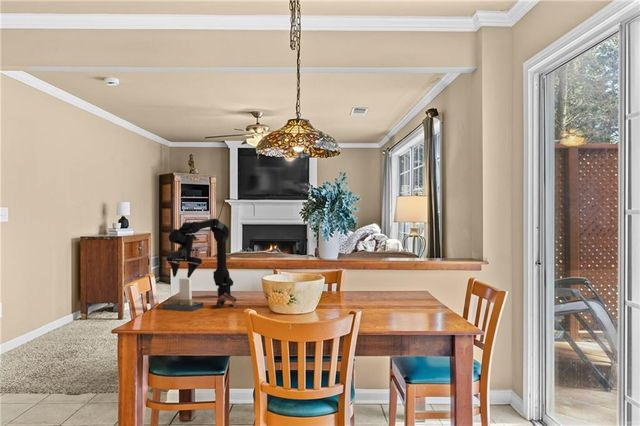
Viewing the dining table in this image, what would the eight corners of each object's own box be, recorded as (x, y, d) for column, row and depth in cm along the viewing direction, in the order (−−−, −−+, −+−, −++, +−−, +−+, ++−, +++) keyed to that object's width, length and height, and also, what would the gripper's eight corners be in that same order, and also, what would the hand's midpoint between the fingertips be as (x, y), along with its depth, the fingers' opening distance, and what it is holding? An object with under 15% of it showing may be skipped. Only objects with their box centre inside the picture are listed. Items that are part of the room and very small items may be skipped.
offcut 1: (172, 307, 231) (171, 297, 231) (181, 308, 229) (181, 298, 229) (169, 308, 229) (169, 298, 229) (178, 309, 227) (178, 298, 227)
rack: (175, 306, 238) (175, 299, 238) (204, 308, 231) (204, 302, 231) (161, 310, 228) (161, 303, 228) (191, 313, 222) (191, 306, 222)
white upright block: (181, 306, 234) (181, 278, 233) (191, 307, 231) (191, 279, 231) (179, 307, 232) (179, 279, 232) (189, 308, 230) (189, 279, 230)
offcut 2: (182, 308, 229) (182, 298, 229) (192, 309, 227) (192, 298, 227) (179, 309, 227) (179, 299, 227) (189, 310, 225) (189, 299, 225)
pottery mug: (218, 306, 239) (226, 292, 240) (233, 315, 236) (241, 301, 237) (208, 305, 227) (216, 290, 228) (223, 314, 224) (232, 299, 225)
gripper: (161, 243, 234) (155, 274, 230) (189, 243, 225) (184, 276, 222) (176, 247, 243) (171, 277, 240) (204, 247, 235) (199, 279, 231)
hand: (181, 277), depth 233 cm, fingers open, 9 cm apart
